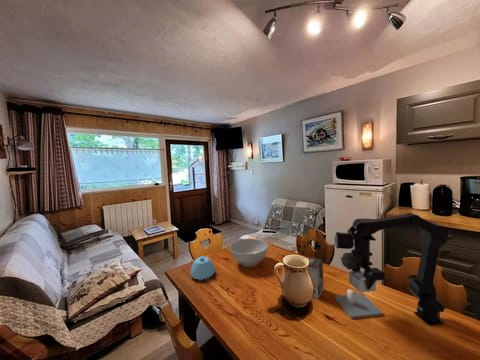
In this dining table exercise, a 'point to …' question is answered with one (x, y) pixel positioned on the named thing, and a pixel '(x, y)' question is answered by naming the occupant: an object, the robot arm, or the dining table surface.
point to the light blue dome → (202, 268)
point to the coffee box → (316, 276)
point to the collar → (360, 281)
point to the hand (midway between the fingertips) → (362, 284)
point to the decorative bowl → (249, 251)
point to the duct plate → (357, 305)
